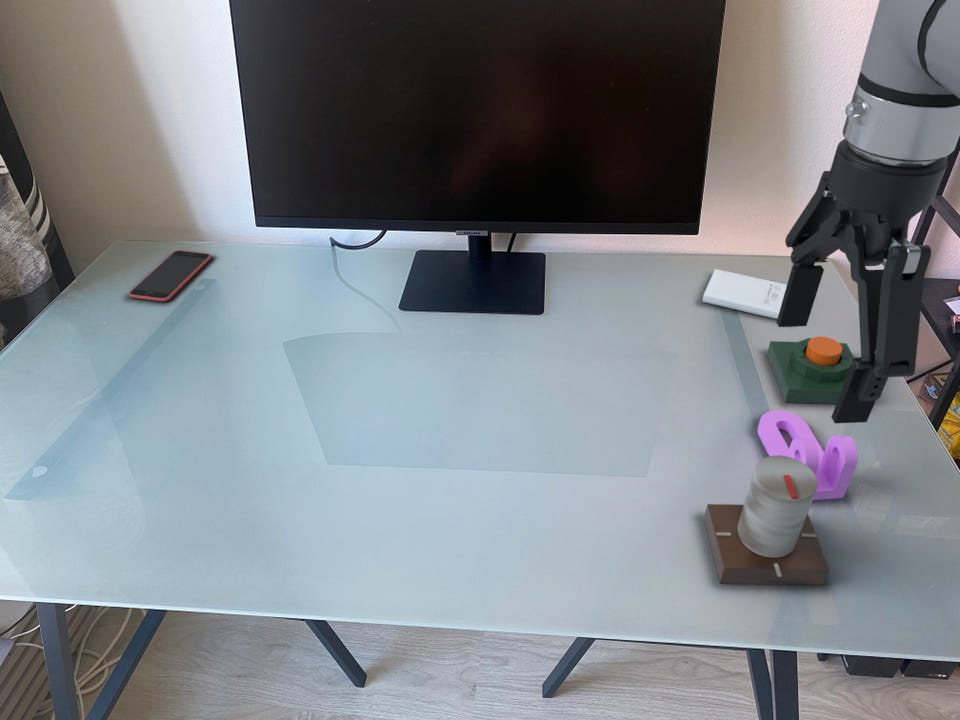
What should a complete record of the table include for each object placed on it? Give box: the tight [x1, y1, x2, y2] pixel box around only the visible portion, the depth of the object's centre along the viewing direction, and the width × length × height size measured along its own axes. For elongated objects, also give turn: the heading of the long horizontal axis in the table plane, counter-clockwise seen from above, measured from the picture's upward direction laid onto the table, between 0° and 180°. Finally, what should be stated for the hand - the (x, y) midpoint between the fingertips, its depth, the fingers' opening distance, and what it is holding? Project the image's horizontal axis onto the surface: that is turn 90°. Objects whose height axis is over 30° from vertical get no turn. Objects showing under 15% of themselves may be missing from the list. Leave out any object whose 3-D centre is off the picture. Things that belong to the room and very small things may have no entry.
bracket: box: [756, 409, 859, 501], centre depth 85 cm, size 13×6×7 cm, turn 4°
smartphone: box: [128, 249, 212, 302], centre depth 121 cm, size 7×1×14 cm
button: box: [805, 336, 842, 366], centre depth 95 cm, size 4×4×2 cm
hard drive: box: [702, 268, 787, 320], centre depth 112 cm, size 2×8×12 cm
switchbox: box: [766, 337, 855, 405], centre depth 97 cm, size 10×10×4 cm
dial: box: [737, 455, 818, 558], centre depth 73 cm, size 6×6×9 cm
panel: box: [703, 503, 830, 586], centre depth 76 cm, size 10×10×3 cm
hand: (817, 368), depth 69 cm, fingers open, 13 cm apart
